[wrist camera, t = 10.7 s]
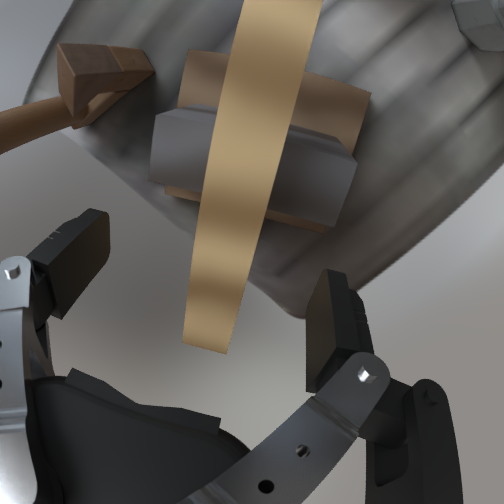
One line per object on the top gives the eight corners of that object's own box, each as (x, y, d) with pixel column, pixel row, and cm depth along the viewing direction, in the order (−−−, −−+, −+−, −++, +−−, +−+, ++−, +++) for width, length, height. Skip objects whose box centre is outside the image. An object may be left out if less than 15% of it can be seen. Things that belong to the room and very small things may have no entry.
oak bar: (260, 3, 14) (250, -21, 10) (315, 16, 14) (324, -5, 10) (198, 301, 27) (182, 342, 22) (236, 311, 27) (226, 354, 23)
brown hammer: (156, 72, 27) (39, 81, 12) (90, 125, 31) (-23, 175, 16) (141, 47, 26) (20, 41, 10) (77, 102, 29) (-39, 141, 14)
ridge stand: (194, 50, 26) (143, 38, 16) (366, 92, 26) (409, 99, 16) (171, 187, 34) (123, 237, 24) (321, 225, 35) (333, 291, 24)
